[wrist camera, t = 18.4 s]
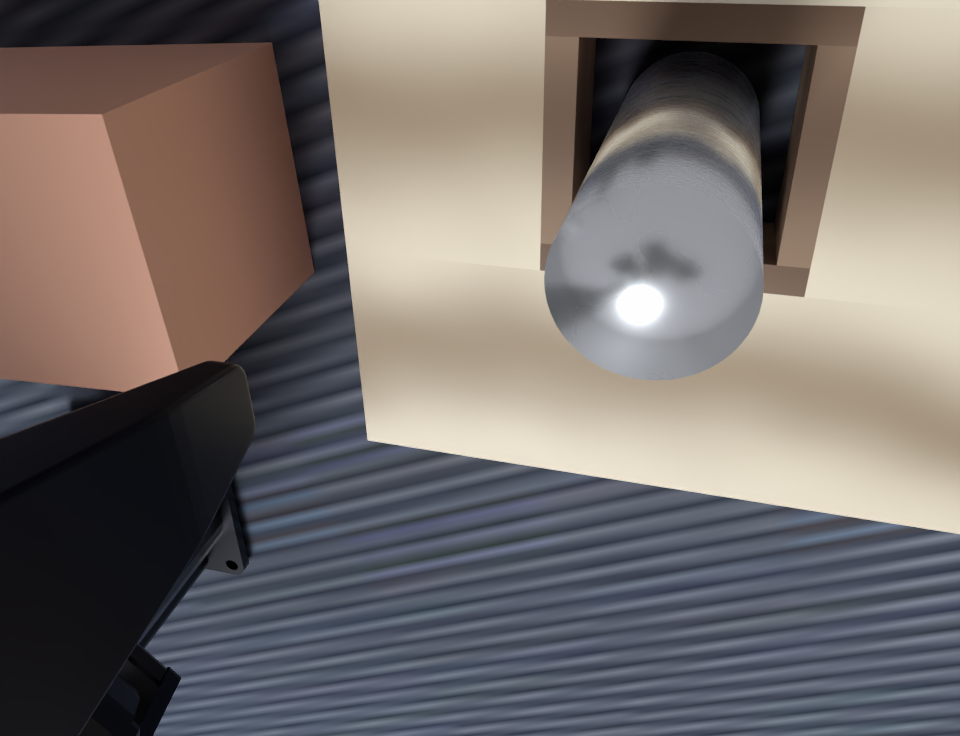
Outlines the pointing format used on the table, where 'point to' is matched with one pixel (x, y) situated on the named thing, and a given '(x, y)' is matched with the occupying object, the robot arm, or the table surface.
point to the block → (142, 209)
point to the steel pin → (666, 226)
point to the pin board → (549, 195)
